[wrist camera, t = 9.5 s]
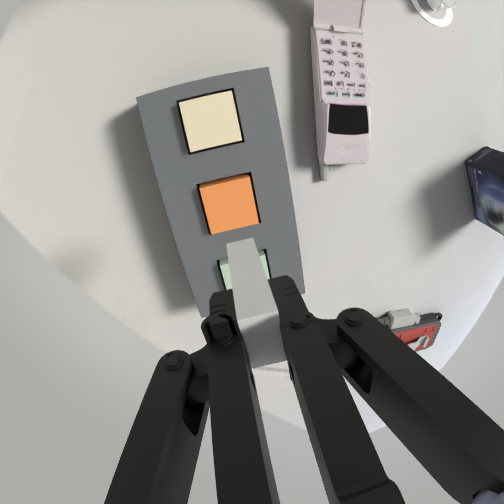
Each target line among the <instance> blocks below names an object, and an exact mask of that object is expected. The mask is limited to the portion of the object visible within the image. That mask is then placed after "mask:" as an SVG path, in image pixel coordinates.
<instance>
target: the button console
mask: <svg viewBox="0 0 504 504" xmlns="http://www.w3.org/2000/svg"><path fill="white" fill-rule="evenodd" d="M227 91H232V94H233V99H234V104H235V108H236V113H237V118H238V123H239V127H240V132H241V137H242V140H241V141H237V142H232V143H227V144H223V145H219V146H214V147H210V148H206V149H202V150H198V151H194V152H190V148H189V144H188V140H187V135H186V131H185V127H184V123H183V118H182V114H181V110H180V105H179V103H180V102H183V101H187V100H191V99H195V98H200V97H204V96H208V95H213V94H217V93H222V92H227ZM136 99H137V104H138V108H139V113H140V117H141V121H142V125H143V129H144V133H145V137H146V141H147V145H148V149H149V153H150V157H151V160H152V164H153V168H154V172H155V175H156V179H157V182H158V186H159V189H160V193H161V196H162V200H163V203H164V207H165V210H166V213H167V217H168V220H169V223H170V226H171V230H172V233H173V236H174V239H175V242H176V245H177V248H178V251H179V255H180V258H181V261H182V264H183V267H184V270H185V272H186V275H187V278H188V281H189V284H190V287H191V290H192V293H193V296H194V298H195V301H196V304H197V307H198V309H199V312H200V315H201V318H202V317H207V316H210V312H209V309H210V308H209V299H210V298H211V296H212V294H213V293H214V292H219V291H223V290H227V289H226V285H225V282H224V278H223V275H222V271H221V267H220V260H219V259H224V258H228V254H227V247H226V244H227V243H231V242H235V241H240V240H244V239H248V238H253V239H254V242H255V245H256V248H257V250H262V249H263V251H264V253H265V256H266V262H267V267H268V272H269V277H270V279H271V278H275V277H279V276H284V275H287V276H289V277H290V278H292V279H293V280H294V282H295V284H296V286H297V288H298V290H299V292H300V294H304V293H305V287H304V279H303V271H302V263H301V255H300V248H299V240H298V233H297V226H296V219H295V213H294V206H293V199H292V193H291V187H290V180H289V174H288V168H287V162H286V156H285V151H284V145H283V139H282V134H281V128H280V123H279V117H278V112H277V107H276V102H275V97H274V92H273V87H272V82H271V77H270V72H269V67H265V68H258V69H252V70H246V71H240V72H234V73H229V74H224V75H219V76H214V77H209V78H205V79H200V80H196V81H192V82H188V83H184V84H180V85H176V86H172V87H169V88H165V89H162V90H158V91H155V92H152V93H148V94H145V95H142V96H139V97H136ZM247 172H248V175H249V177H250V181H251V186H252V191H253V196H254V201H255V206H256V211H257V216H258V221H259V224H255V225H250V226H246V227H242V228H237V229H233V230H229V231H225V232H220V233H216V234H211V231H210V227H209V223H208V219H207V216H206V212H205V208H204V204H203V200H202V196H201V192H200V184H199V183H203V182H208V181H212V180H216V179H220V178H224V177H229V176H233V175H238V174H242V173H247Z"/></svg>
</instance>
